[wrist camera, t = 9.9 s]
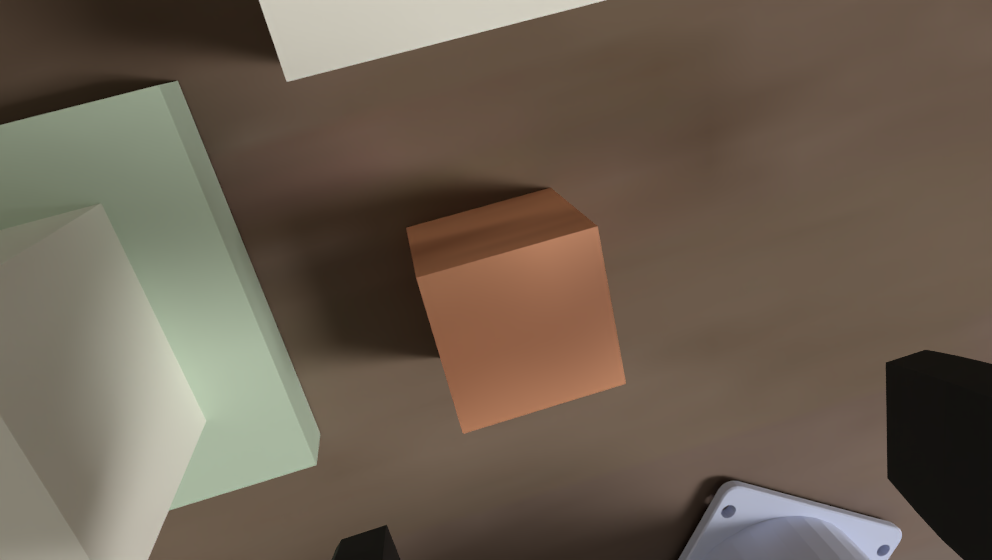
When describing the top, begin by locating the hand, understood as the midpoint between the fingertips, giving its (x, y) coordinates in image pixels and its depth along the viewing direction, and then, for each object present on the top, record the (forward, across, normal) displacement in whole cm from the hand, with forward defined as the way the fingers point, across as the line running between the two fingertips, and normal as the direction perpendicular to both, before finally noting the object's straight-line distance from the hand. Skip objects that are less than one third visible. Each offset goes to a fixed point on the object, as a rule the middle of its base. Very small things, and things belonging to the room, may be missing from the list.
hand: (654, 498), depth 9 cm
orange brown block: (+10, 0, 0) cm, 10 cm away
